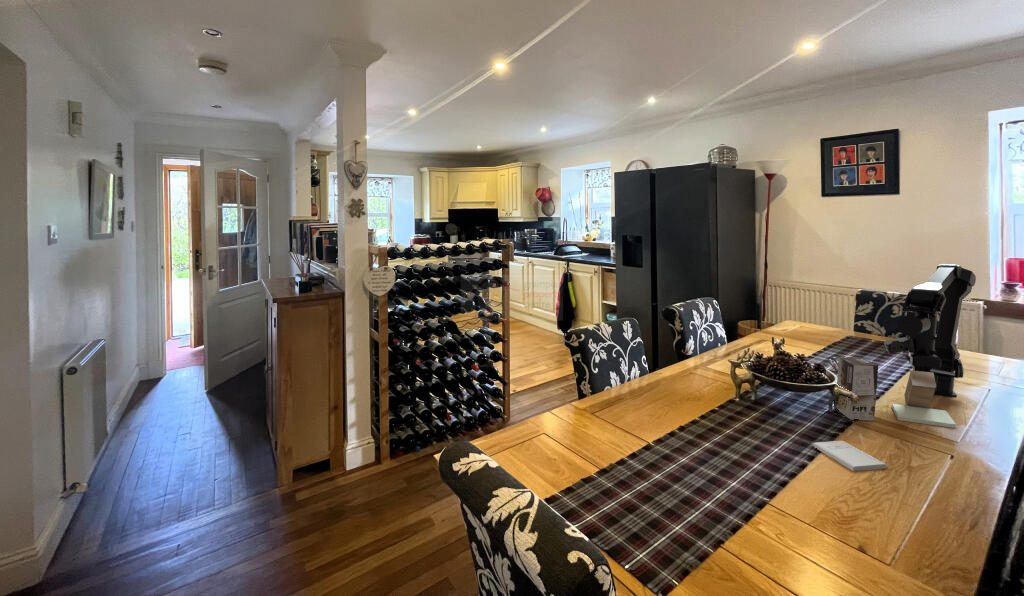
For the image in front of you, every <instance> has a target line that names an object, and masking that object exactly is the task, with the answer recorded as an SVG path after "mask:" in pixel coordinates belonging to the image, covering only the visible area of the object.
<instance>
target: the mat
mask: <svg viewBox="0 0 1024 596" xmlns="http://www.w3.org/2000/svg"><path fill="white" fill-rule="evenodd" d="M891 408H892V410H893V412H894V415H895V417H896V418H897V420H898V421H903V422H904V421H905V422H909V423H910V422H912V423H918V424H923V425H932V426H940V427H945V428H954V429H957V424H956V422H955V420H953V418H952V417H951V416H950V414H949V413H948V411H947V410H944V409H935V408H930V407H929V408H922V407H914V406H906V404H896V403H892V404H891Z"/></svg>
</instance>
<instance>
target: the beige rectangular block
mask: <svg viewBox="0 0 1024 596" xmlns="http://www.w3.org/2000/svg"><path fill="white" fill-rule="evenodd" d="M935 388H936V382H935V378H934V373H933V372H922V371H913V370H910V372H909V376H908V381H907V383H906V387H905V392H904V396H903V397H904V401H905V405H906V406H914V407H922V408H929V409H930V407H931V403H932V401H933V398H934V395H935V394H934V391H935Z"/></svg>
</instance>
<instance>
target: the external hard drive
mask: <svg viewBox="0 0 1024 596" xmlns="http://www.w3.org/2000/svg"><path fill="white" fill-rule="evenodd" d="M813 446H814V447H813ZM812 447H813V448H815V449H816V448H817V449H816V450H818V451H820V452H821V453H823V454H824V455H826V456H827V457H829V458H830V459H833V460H835V461H836V462H837V463H839V464H841V465H842V466H844V467H846V468H848V469H849V470H851V471H853V472H856V471H858V472H859V471H870V470H881V469H887V463H885V462H884V461H881V460H880V459H877V458H876V457H873V456H871V455H870V454H868V453H866V452H865V451H862V450H861V449H859V448H857V447H855V446H853V445H852V444H849V443H847V442H846V441H844V440H834V441H833V440H832V441H830V440H829V441H820V442H818V441H817V442H813V444H812Z"/></svg>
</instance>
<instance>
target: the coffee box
mask: <svg viewBox="0 0 1024 596" xmlns="http://www.w3.org/2000/svg"><path fill="white" fill-rule="evenodd" d="M837 361H838V363H837V375H836V376H837V379H836V385H837V384H838V385H839V386H841V387H843V388H844V389H847V390H849V391H852V392H853V393H855V395H857V396H858V397H859V399H858V402H857V403H854V402H853V401H850V398H848V397H844V396H840V397H839V399H838V402H837V409H838V410H839V411H838V410H837V409H836V410H837V411H838V412H839V413H841V414H842V415H844V416H845V417H846V418H848V419H849V420H853V421H855V420H854V419H859V420H858V421H871V422H873V421H875V413H876V402H877V401H876V399H877V388H878V377H879V376H878V375H879V365H878V364H876V363H874V362H873V361H870V360H868V359H866V358H863V357H862V356H860V357H858V356H854V357H853V356H852V357H851V356H849V357H848V356H847V357H843V356H842V357H841V356H839V357H838V358H837Z"/></svg>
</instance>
